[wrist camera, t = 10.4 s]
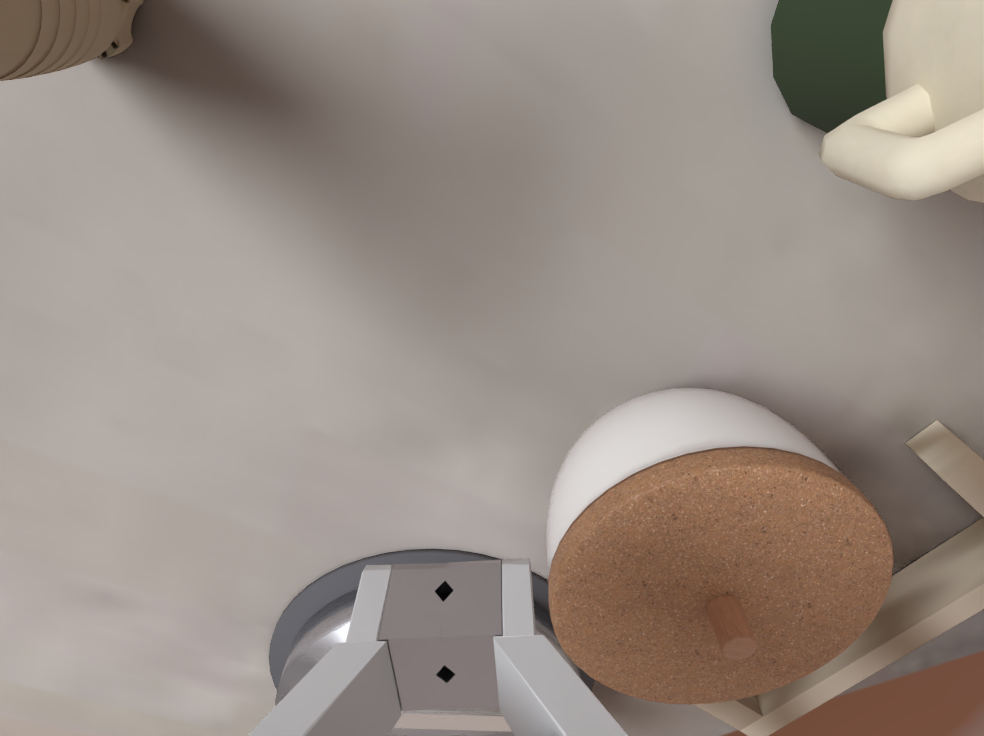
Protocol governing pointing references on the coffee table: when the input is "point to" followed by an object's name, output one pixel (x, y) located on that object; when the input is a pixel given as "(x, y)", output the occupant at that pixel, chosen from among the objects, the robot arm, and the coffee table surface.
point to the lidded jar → (708, 550)
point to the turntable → (416, 731)
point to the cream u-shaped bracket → (892, 603)
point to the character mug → (889, 90)
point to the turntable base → (349, 581)
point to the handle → (61, 33)
